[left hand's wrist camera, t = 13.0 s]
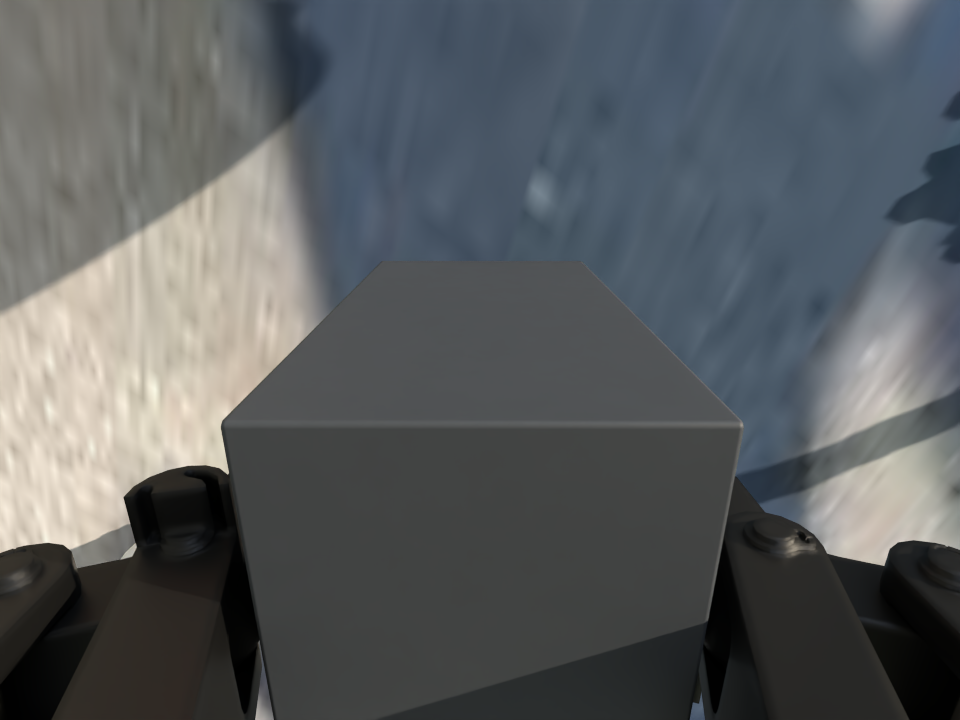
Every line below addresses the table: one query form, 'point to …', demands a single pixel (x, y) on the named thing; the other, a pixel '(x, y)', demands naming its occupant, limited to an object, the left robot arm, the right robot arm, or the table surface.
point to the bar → (482, 503)
